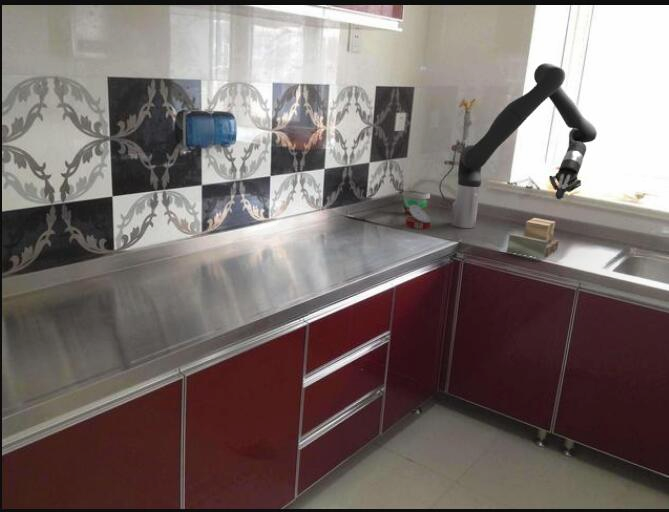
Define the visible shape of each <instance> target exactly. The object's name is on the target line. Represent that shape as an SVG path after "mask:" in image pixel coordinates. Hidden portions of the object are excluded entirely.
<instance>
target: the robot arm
mask: <svg viewBox="0 0 669 512" xmlns="http://www.w3.org/2000/svg"><path fill="white" fill-rule="evenodd" d="M533 78H534V82H535V83H536V84H535V85H534V87H532V88H531V89H530V90H529V91H528V92H527V93H526V94H524V95H521V96H520V97H518V98H516V99H514V100H513V101H511V102H510V103H508V104H507V105H506V106H505V107H504V108H503V109H502V111H500V112H499V114H498V115H497V116H496V117H495V118H494V120H493V122H492V124H491V126H490V127H489V129H488V130H487V132H486V133H485V134H484V136H482V138H480V140H479V141H478V142H476V143H475V144H469V145H466V146H465V147H464V148H463V149H462V150H461V152H460V156H459V162H458V170H457V180H458V181H457V186H456V188H457V189H456V195H455V201H454V202H453V204H452V211H451V218H450V219H451V221H450V226H454V227H457V228H462V229H474V228H476V227H475V226H476V220H477V212H478V208H479V207H478V206H479V201H480V199H479V197H480V194H481V193H480V192H481V185H482V178H481V175H482V173H481V170H482V167H484V166H485V164H486V163H487V162H488V160H489V159H490V158H491V156H493V154H494V153H495V151H497V150H498V148H499V147H500V146H501V145H502V144H503V143H505V141H506V140H507V139H509V137H510V136H512V134H514V133H515V132H516V131H517V130H518V128H519V127H520V126H521V125H522V124H523V123H524V122H525V121H526V120H527V119H528V118H529V117H530V115H531V114H532V113H534V111H535V110H537V109H538V108H539V106H540V105H541V104H542V103H543V102H544V101H546V100H547V99H548V98H549V99H550V102H552V103H553V105H554V107H555V108H556V110H557V111H558V114H559V115H560V116H561V118H562V120H563V122H564V124H565V125H566V126H567V127H568V128H570V131H569V134H568V147H567V149H566V152H565V154H564V156H563V159H562V161H561V164H560V166H559V169H558V172H557V173H556V174H555V175H549V176H548V177H549V182H550V185H552V188H553V189H554V191H556V192H555V198H556V199H557V200H562V199H563V198H564V195H565V193H567V192H568V193H571V192H572V191H574V190H576V189H577V188H579V187H580V186H582V180H581V179H579V178H578V175H579V172H580V170H581V168H582V165H583V161H584V157H585V154H586V152H587V145H586V143H591V142H593V141H594V140H595V139H596V138H597V130H596V127H595V125H594V124H593V123H591V121H589V120H588V118H586V117H585V116H584V115H583V114H582V112H581V111H580V109H579V107H578V106H577V104H576V102H575V101H574V100H573V99H572V97H570V96H569V94H568V93H567V92H566V91H565V90H564V88H563V87H562V85H563V84H564V82H565V79H566V71H565V70H564V69H563V68H562V67H560V66H557V65H555V64H552V63H548V62H545V63H542V64H540V65H538V66H537V67H536V68H535V70H534V73H533ZM556 181H557V182H556ZM557 183H558V184H557Z"/></svg>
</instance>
